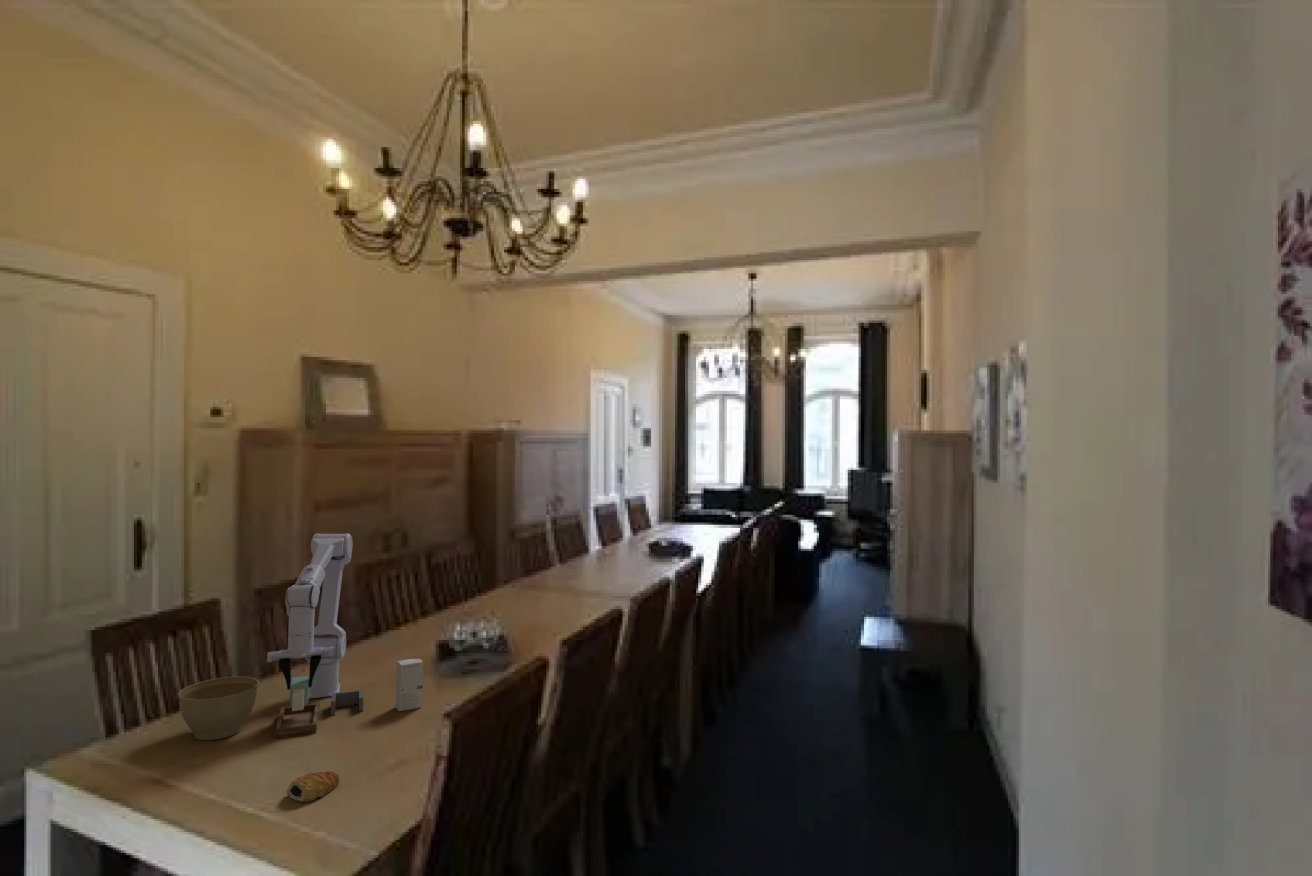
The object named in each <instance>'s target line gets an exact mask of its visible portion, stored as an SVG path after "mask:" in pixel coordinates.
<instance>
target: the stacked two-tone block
mask: <svg viewBox="0 0 1312 876" xmlns="http://www.w3.org/2000/svg"><path fill="white" fill-rule="evenodd" d="M309 700H310V699H309V675H304V676H295V677H291V684H290V690H289V707H291V706H292V711H298V710H303V708H304V705H308V704H309Z"/></svg>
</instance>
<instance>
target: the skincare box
mask: <svg viewBox="0 0 1312 876" xmlns="http://www.w3.org/2000/svg"><path fill="white" fill-rule="evenodd" d="M424 665H425V664H424V661H423V660H422V659H421V658H419V657H418V658H411V659H410V658H409V659H403V660H397V662H396V677H395V678H396V679H395V704H394V707H395V708H396V710H397V711H398V712H404V711H409V710H414V709H416V710H417V709H420V708H422V706H423V703H422V702H423V686H424V685H423V682H424V681H423V680H424Z"/></svg>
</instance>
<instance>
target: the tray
mask: <svg viewBox="0 0 1312 876" xmlns="http://www.w3.org/2000/svg"><path fill="white" fill-rule="evenodd" d="M319 714H320V703H319V702H317V703H310V704H309V703H308V704H304V708H303V710H298V711H292V706H285V707H284V706H282V707H281V708H280V711H279V715H278V719H277V723H276V727H275V736H274V738H275V739H279V738H278V737H280V738H285V737H284V736H287V737H293V736H300V735H309V734H316V733H317V731H318V730H317V729H318V720H319Z"/></svg>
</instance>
